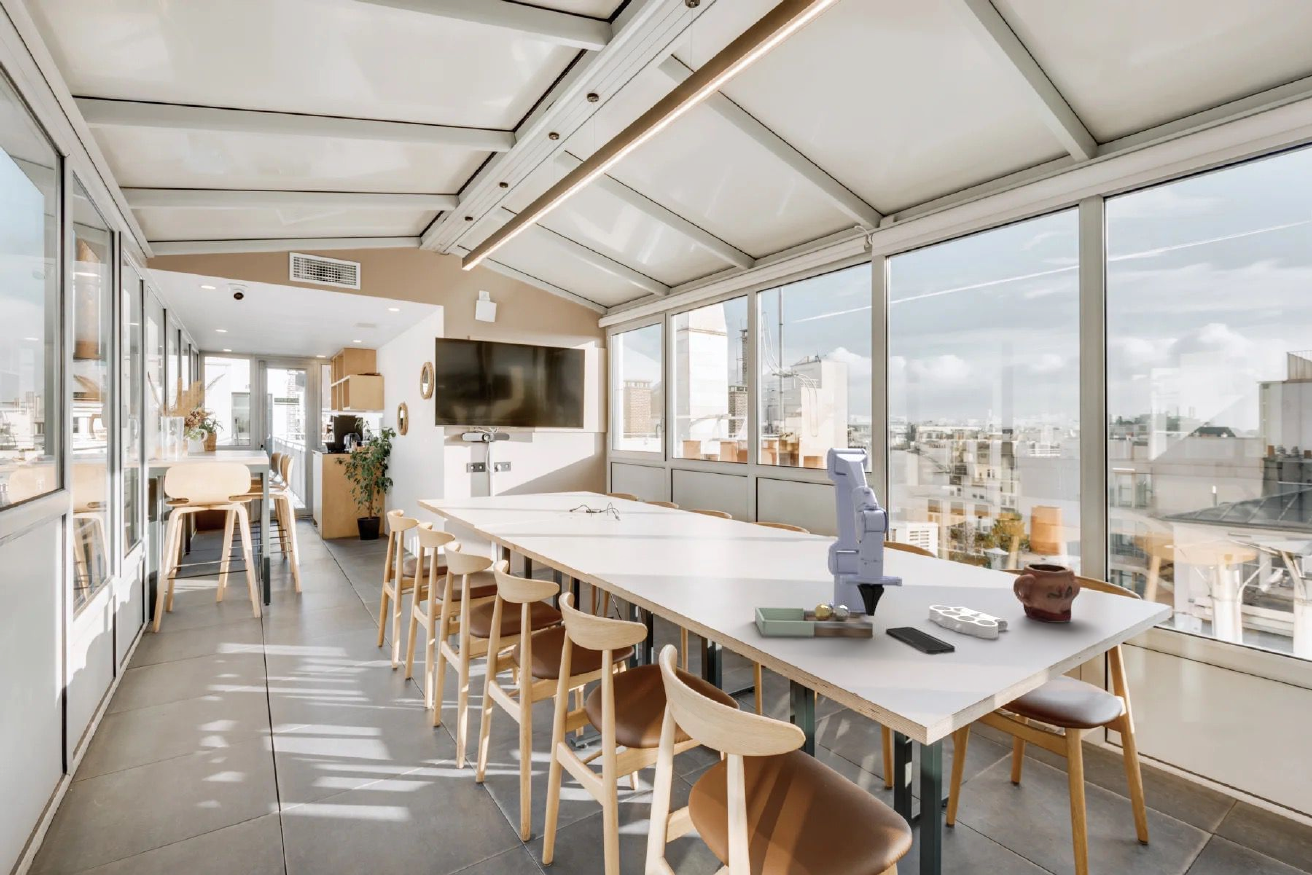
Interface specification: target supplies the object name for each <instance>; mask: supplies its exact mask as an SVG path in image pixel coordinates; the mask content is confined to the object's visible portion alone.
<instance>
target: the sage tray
mask: <svg viewBox="0 0 1312 875" xmlns="http://www.w3.org/2000/svg"><path fill="white" fill-rule="evenodd" d="M754 609H755V610H754V611H755V616H754V619H755V620H754V621H755V623H756V624H757V627H758V629H759V632H760V634H761V636H762V637H784V638H785V637H787V638H788V637H790V638H794V637H795V638H814V637H815V636H814V622H813V621H803V610H804V608H803V607H776V606H775V607H774V606H773V607H772V606H769V607H768V606H767V607H766V606H755V608H754Z"/></svg>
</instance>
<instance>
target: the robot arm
mask: <svg viewBox="0 0 1312 875" xmlns="http://www.w3.org/2000/svg"><path fill="white" fill-rule="evenodd" d="M868 460H869V459H868V452H867V451H866V450H865V449H864V447H863V448H862V447H861V448H840V447H839V448H837V447H836V448H834V447H830V448H829V450H828V451H827V455H826V471H827V472H826V473H827V476H828V479H830V480H831V481H833V485H834V492H835V493H834V494H835V496H834V497H835V509H836V524H837V538H838V539H837V540H836V541H835V542H833V543H832V544H831V545H830V546H829V548H828V556H827V568H828V571H829V573H830V574H831V575H832V576H833V602H832V601H830V602H828V605H829V606H831V607H832V609H834V608H835V607H836V606H837V605H844V606H845V607H847V608H848V610H849V611H860V614H863V613H864V614H866V615H867V616H868V617H875V615H876V614H875V612H876V609H877V607H878V603H879V601H880V599H881V597H882V596H883V594H884V593H885V587H883V586H893V587H894V586H896V587H902V586H903V579H902V578H901V577H900V576H890V575H884V544H885V543H884V540H885V534H886V533H887V532H888V529H889V518H888V514H887V511H886V510H885V509H883V507H882V506H880V505H879V502H878V500H877V497H876V494H875V491H874V490H873V488H871V487H869V486H868V482H867V479H866V473H865V472H866V469H867V466H868Z"/></svg>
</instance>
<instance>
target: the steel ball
mask: <svg viewBox="0 0 1312 875" xmlns="http://www.w3.org/2000/svg"><path fill="white" fill-rule="evenodd" d="M832 611H833V617H834V618H835V619H836V620H837V621H839V622H845V621H846V620H848V618H849V616H850V612H849V610H848V608H847V607H845V606H844V605H837V606H836V607H835V608H832Z"/></svg>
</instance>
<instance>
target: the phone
mask: <svg viewBox="0 0 1312 875" xmlns="http://www.w3.org/2000/svg"><path fill="white" fill-rule="evenodd" d="M885 633H886V634H887V635H889V636H891V637H893V638H895V639H897V640H899V641H901V642H903V643H905V644H907V645H909V646H910V647H913V648H915V649H917V650H919V651H922V652H923V653H926V654H929V655H933V654H943V653H951V652H952V653H953V652H955V650H956V648H955V646H954V645H952V644H950V643H948V642H946V641H945V640H944V641H943V640H941V639H939V638H936V637H935V636H932V635H931V634H929V633H927V632H924V631H922V630H919V629H918V628H915V627H913V626H902V627H901V626H900V627H891V628H886V629H885Z"/></svg>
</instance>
